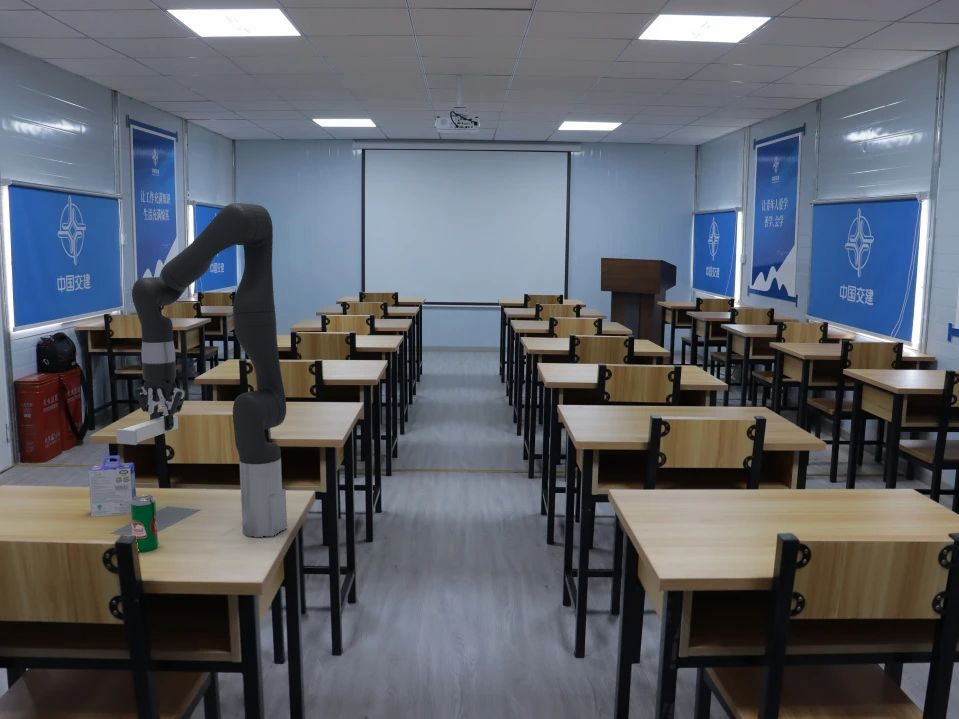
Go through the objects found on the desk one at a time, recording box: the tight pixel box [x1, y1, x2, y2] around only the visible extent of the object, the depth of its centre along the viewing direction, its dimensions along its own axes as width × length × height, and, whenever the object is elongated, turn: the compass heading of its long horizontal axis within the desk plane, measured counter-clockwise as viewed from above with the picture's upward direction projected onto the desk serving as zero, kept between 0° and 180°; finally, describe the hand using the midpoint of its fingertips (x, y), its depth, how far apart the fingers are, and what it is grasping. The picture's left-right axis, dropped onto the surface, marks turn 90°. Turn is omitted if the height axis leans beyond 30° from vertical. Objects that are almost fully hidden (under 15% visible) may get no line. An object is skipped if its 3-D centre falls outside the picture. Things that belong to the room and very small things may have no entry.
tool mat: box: [109, 505, 201, 536], centre depth 190 cm, size 10×20×1 cm, turn 163°
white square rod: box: [115, 414, 179, 446], centre depth 190 cm, size 5×17×3 cm, turn 164°
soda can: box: [130, 494, 159, 553], centre depth 173 cm, size 5×5×12 cm
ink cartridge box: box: [87, 454, 137, 517], centre depth 197 cm, size 10×6×14 cm, turn 105°
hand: (162, 429), depth 195 cm, fingers closed on white square rod, 3 cm apart
